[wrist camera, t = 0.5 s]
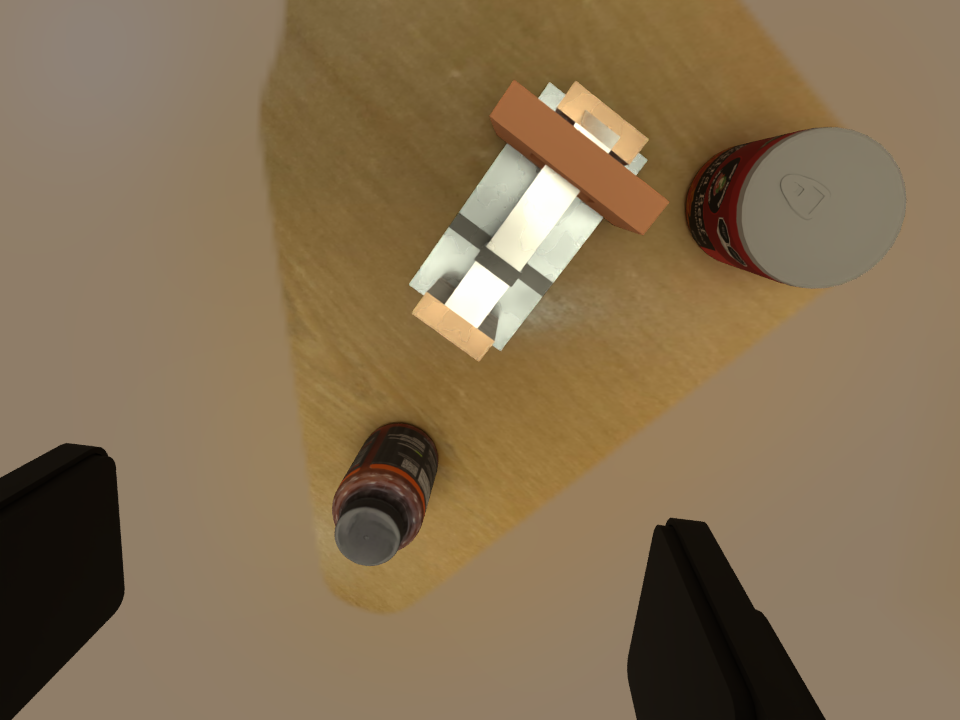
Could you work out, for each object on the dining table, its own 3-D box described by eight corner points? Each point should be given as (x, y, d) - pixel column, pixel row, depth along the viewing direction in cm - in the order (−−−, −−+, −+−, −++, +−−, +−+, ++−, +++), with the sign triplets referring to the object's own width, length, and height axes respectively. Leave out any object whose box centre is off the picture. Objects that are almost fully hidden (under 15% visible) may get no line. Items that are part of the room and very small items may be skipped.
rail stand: (549, 83, 38) (555, 58, 31) (645, 160, 39) (673, 153, 32) (410, 283, 42) (388, 301, 35) (500, 349, 43) (496, 379, 36)
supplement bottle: (360, 484, 47) (311, 572, 36) (367, 414, 45) (319, 484, 34) (434, 497, 47) (408, 589, 36) (445, 427, 45) (421, 501, 34)
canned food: (712, 126, 38) (786, 100, 28) (826, 171, 39) (942, 162, 28) (662, 240, 40) (712, 256, 30) (770, 281, 41) (858, 312, 30)
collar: (515, 107, 38) (513, 79, 28) (633, 200, 39) (669, 201, 29) (496, 134, 38) (489, 115, 29) (614, 225, 39) (643, 235, 30)
